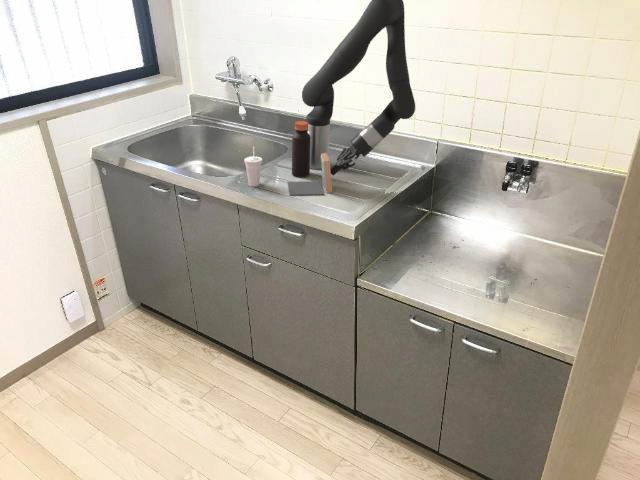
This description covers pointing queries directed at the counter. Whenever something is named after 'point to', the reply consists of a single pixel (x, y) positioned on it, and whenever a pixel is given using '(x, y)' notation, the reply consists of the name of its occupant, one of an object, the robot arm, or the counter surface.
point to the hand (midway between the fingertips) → (330, 173)
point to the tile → (326, 172)
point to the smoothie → (253, 169)
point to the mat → (305, 188)
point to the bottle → (301, 150)
